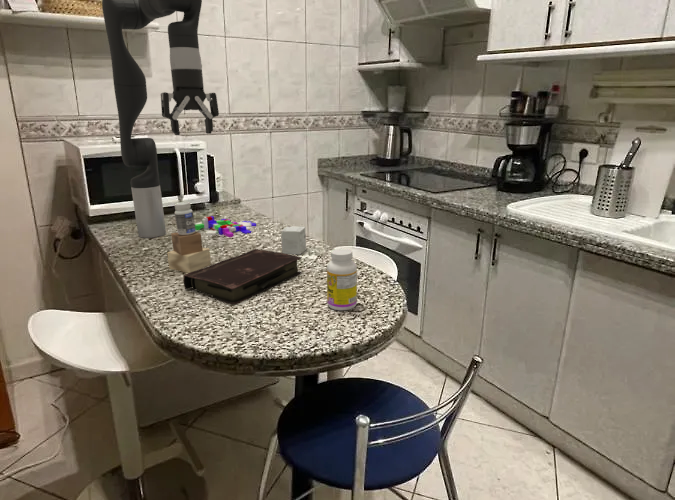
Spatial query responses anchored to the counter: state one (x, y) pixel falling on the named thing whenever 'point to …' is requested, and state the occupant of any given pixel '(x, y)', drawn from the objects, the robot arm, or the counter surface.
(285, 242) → the skincare box
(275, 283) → the diary
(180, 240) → the walnut block
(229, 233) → the building block set
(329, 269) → the supplement bottle
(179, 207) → the pill bottle
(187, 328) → the counter surface
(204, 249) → the maple block
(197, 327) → the counter surface
